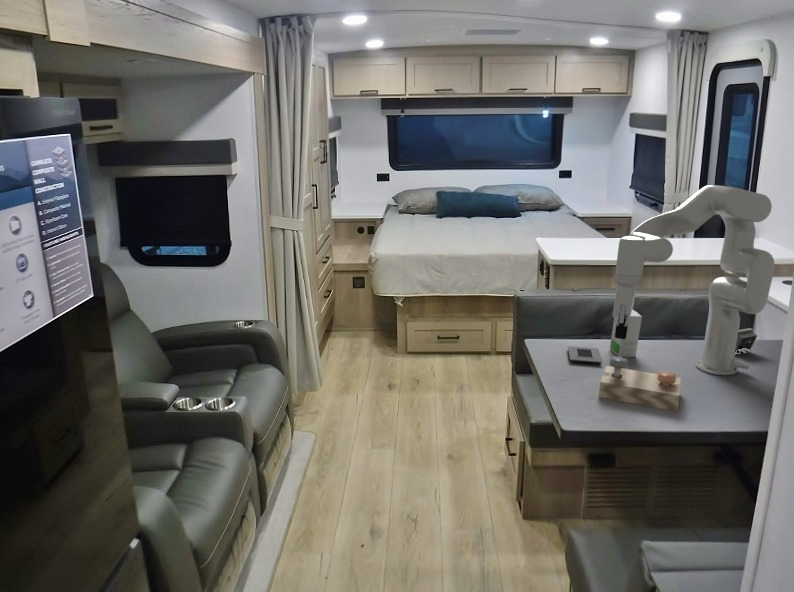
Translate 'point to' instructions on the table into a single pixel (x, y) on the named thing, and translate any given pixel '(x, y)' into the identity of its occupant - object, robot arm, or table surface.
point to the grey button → (618, 365)
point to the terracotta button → (666, 378)
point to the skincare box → (627, 337)
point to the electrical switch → (745, 339)
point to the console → (639, 389)
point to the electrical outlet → (584, 354)
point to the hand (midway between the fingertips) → (620, 337)
